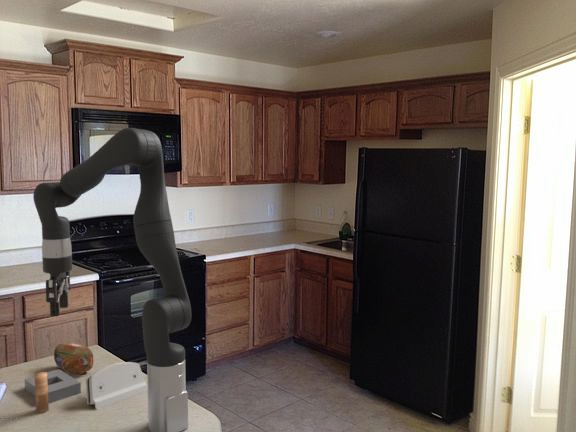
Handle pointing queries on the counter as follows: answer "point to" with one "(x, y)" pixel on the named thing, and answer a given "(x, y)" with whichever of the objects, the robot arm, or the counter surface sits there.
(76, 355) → the tin
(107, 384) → the hinge
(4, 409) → the counter surface
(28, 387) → the hole block
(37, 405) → the peg
